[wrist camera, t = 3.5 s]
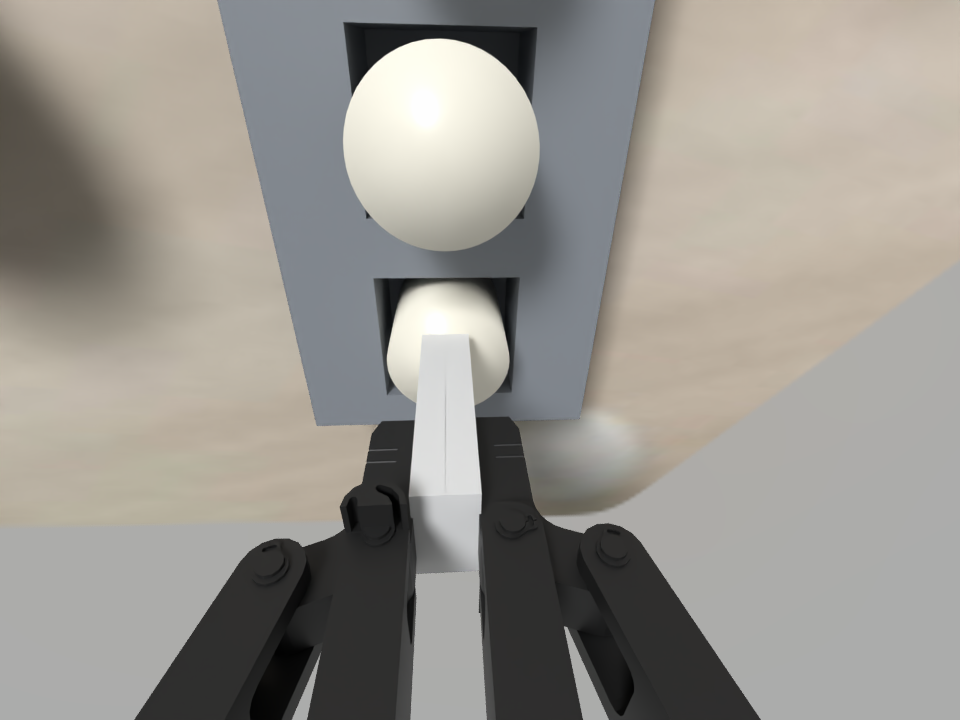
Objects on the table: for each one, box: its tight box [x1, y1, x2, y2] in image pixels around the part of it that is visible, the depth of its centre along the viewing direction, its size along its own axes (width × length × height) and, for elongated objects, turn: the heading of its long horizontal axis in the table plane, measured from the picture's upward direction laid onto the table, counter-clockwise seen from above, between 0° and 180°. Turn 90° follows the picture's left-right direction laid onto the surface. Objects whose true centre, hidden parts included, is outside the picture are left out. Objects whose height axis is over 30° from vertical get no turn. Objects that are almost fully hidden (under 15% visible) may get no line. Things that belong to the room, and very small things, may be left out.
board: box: [217, 0, 655, 426], centre depth 15 cm, size 11×22×4 cm, turn 179°
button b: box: [343, 39, 540, 251], centre depth 12 cm, size 4×4×4 cm
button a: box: [387, 278, 509, 405], centre depth 18 cm, size 4×4×4 cm
